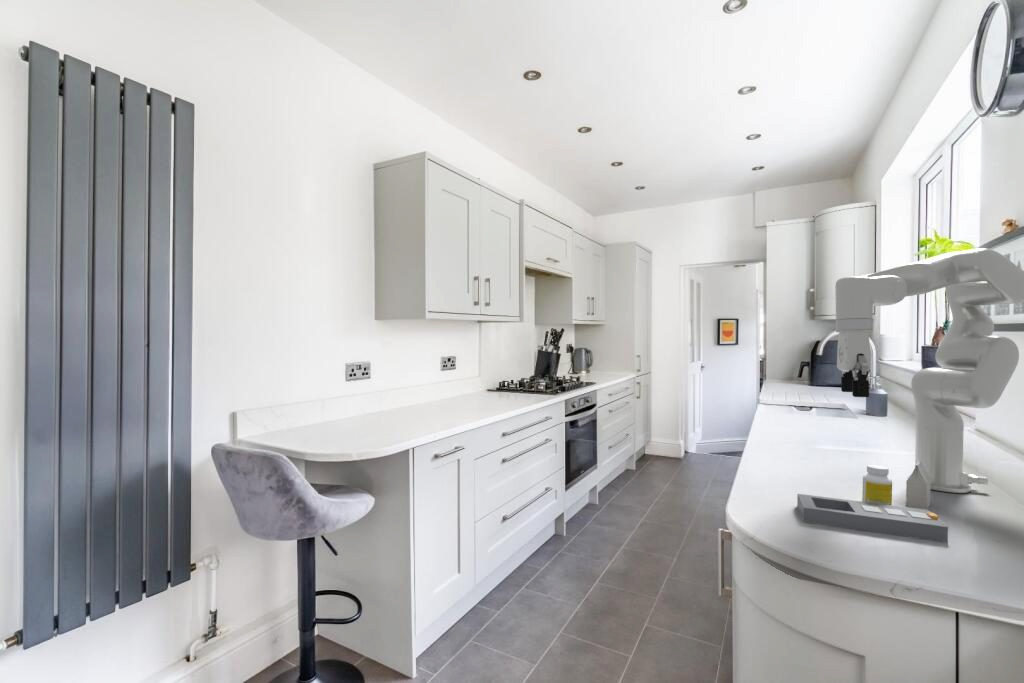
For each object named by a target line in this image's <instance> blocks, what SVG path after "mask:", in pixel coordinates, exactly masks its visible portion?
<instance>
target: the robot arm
mask: <svg viewBox="0 0 1024 683" xmlns="http://www.w3.org/2000/svg"><path fill="white" fill-rule="evenodd" d="M944 288H945V296H946V300H947V302H948V305H949V309H950V312H951V315H952V320H951V321H952V322H951V324H950V326H949V327H948V329H947V332H946V333H945V335H944V337H943V338H942V340H941V342H940V344H939V346H938V348H937V350H936V351H935V356H934V359H935V362H936V363H937V364H938V365H939V366H940V367H926V368H922V369H920V370H918V371H917V372H915V374H913V376H912V378H911V385H910V386H911V392H912V395H913V400H914V405H915V406H914V407H915V444H914V446H915V447H914V448H915V449H914V450H915V453H914V454H915V455H914V457H915V458H914V467H915V466H916V464H917V463H918V462H919V460H920V461H921V460H922V464H923V466H924V468H925V470H926V471H927V473H928V475H929V476H930V478H931V490H933V491H938V492H944V493H954V494H964V493H965V494H966V493H970V492H971V491H972V487H971V485H972V484H977V485H986V486H987V485H989V479H988V477H986V476H980V475H979V476H977V475H975V474H968V473H967V472H965V471H964V431H965V430H964V428H965V427H964V420H963V417H962V415H961V413H960V412H959V410H958V409H957V408H956V407H964V408H972V409H973V408H974V409H987V408H991V407H993V406H994V405H995V404H996V403H997V402H998V401H999V400H1000V398H1001V396H1002V394H1003V393H1004V391H1005V389H1006V388H1007V385H1008V383H1009V382H1010V380H1011V379H1012V376H1013V374H1014V372H1015V371H1016V369H1017V366H1018V364H1019V359H1020V351H1019V348H1018V345H1017V343H1016V342H1015V341H1014V340H1012V339H1010V337H1009V338H1008V337H1006V336H1004V335H1003V336H1001V335H993V333H994V330H995V325H994V324H995V323H994V321H993V320H992V318H991V317H990V315H989V314H988V313H986V311H985V310H984V309H983V307H982V306H992V305H993V306H994V305H1012V304H1017V303H1021V302H1023V301H1024V270H1022V269H1021V268H1020V267H1019V266H1017V265H1016V263H1014V262H1012V261H1011V260H1010V259H1009V258H1008V257H1006V256H1004V255H1003V254H1001V253H1000V252H999V251H996V250H994V249H992V248H991V249H990V248H984V247H983V248H981V247H980V248H975V249H968V250H962V251H953V252H947V253H943V254H939V255H936V256H933V257H929V258H926V259H923V260H918V261H915V262H911V263H908V264H904V265H900V266H896V267H893V268H889V269H884V270H880V271H878V272H877V271H876V272H873V273H868V274H864V275H861V276H858V275H857V276H855V275H854V276H847V277H841V278H839V279H838V280H836V282H835V333H838V336H837V338H838V339H837V350H836V351H837V353H836V368H837V369H838V370H839V371H840V372H841V376H840V377H841V380H840V381H841V382H840V383H841V384H840V385H841V386H840V388H841V392H843V393H852V394H851V395H852V397H854V398H869V397H870V376H869V373H870V369H871V346H870V344H871V343H870V333H872V332H874V330H873V329H874V326H873V325H874V324H873V323H874V320H873V319H874V317H873V316H874V314H873V310H874V308H873V307H883V306H885V307H886V306H891V305H896V304H898V303H900V302H903V300H904V299H905V298H907V297H913V296H919V295H920V296H921V295H924V294H928V293H931V292H934V291H937V290H940V289H944ZM909 477H910V475H908V476H907V479H908V478H909Z"/></svg>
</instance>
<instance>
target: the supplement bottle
mask: <svg viewBox="0 0 1024 683" xmlns="http://www.w3.org/2000/svg"><path fill="white" fill-rule="evenodd" d="M889 470H890V469H889V467H886V466H883V465H880V464H879V465H878V464H867V465H866V472H867V473H865V474H864V475H862V496H861V497H862V498H861V499H862V500H861V502H869V503H877V504H885V505H893V504H892V503H893V502H892V501H893V480H892V479H891V477H889V476H888V475H889V472H890V471H889Z"/></svg>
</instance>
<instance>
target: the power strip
mask: <svg viewBox="0 0 1024 683" xmlns="http://www.w3.org/2000/svg"><path fill="white" fill-rule="evenodd" d="M796 497H797V499H796V500H797V501H796V502H797V504H796V507H797V509H798V511H799V513H800V517H801V518H802V521H803V522H805V523H810V524H818V525H825V526H831V527H832V526H833V527H838V528H846V529H853V530H858V531H859V530H860V531H865V532H866V531H868V532H872V533H880V534H886V535H887V534H888V535H893V534H894V535H895V536H900V537H908V538H915V539H921V540H928V541H930V540H931V541H936V542H943V543H948V542H949V526H948V525H947V524H945V523H944V522H943V521H942V520H940V519H939V516H938V515H937V514H936V513H935V512H931V511H930V510H929V509H927V510H926V509H918V508H914V507H909V506H899V505H893V504H892V505H885V504H877V503H869V502H862V500H861V501H858V500H852V499H851V500H850V499H843V498H837V497H835V498H834V497H827V496H821V495H820V496H819V495H812V494H811V495H810V494H804V493H803V494H802V493H797V496H796Z"/></svg>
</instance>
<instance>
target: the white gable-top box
mask: <svg viewBox="0 0 1024 683" xmlns="http://www.w3.org/2000/svg"><path fill="white" fill-rule="evenodd" d="M909 476H910V477H909V478H908V477H907V480H906V486H905V487H906V489H905V491H906V492H905V496H906V497H905V507H909V508H918V509H926V510H929V506H930V505H931V496H932V494H931V478H930V476H929V475H928V473H927V471H926V470H925V468H924V466H923V464H922V460H921V461H920V460H919V462H918V463H917V464H916V466H915V465H914V469H913V471H912V472H911V474H910V475H909Z"/></svg>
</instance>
